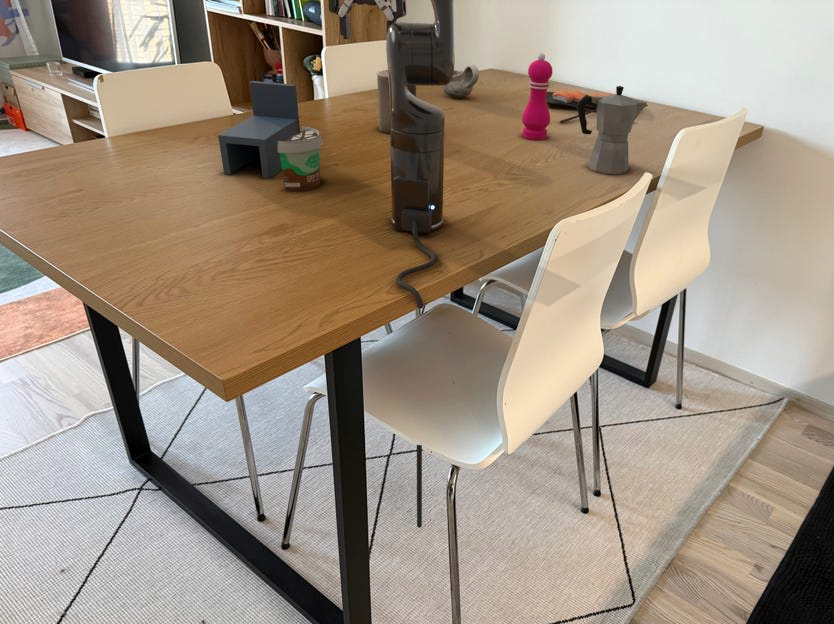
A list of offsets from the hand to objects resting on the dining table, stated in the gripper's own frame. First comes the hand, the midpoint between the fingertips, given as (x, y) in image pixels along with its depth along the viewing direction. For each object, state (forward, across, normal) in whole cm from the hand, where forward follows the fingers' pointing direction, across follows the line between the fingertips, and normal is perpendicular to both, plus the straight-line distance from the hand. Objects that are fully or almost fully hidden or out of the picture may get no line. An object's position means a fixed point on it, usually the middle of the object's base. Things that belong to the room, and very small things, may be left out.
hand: (368, 40), depth 133 cm
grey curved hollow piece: (+26, +2, +80) cm, 84 cm away
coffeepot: (+27, +47, +24) cm, 59 cm away
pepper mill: (+27, +29, +44) cm, 59 cm away
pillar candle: (+26, -6, +39) cm, 47 cm away
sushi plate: (+26, +40, +76) cm, 90 cm away
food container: (+27, -11, -7) cm, 30 cm away
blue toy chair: (+27, -26, +2) cm, 37 cm away
